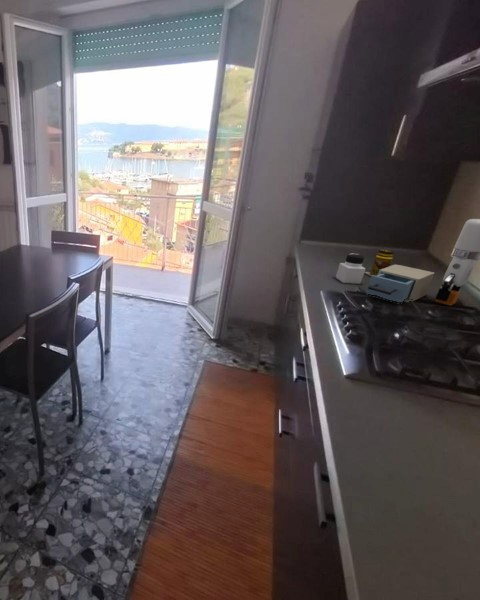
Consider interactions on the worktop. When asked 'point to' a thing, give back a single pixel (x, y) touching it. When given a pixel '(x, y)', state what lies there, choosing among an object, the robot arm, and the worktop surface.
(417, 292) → the small drawer box
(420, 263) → the worktop surface
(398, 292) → the blue drawer
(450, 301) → the orange cube
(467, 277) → the robot arm
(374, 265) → the condiment
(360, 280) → the medicine bottle
